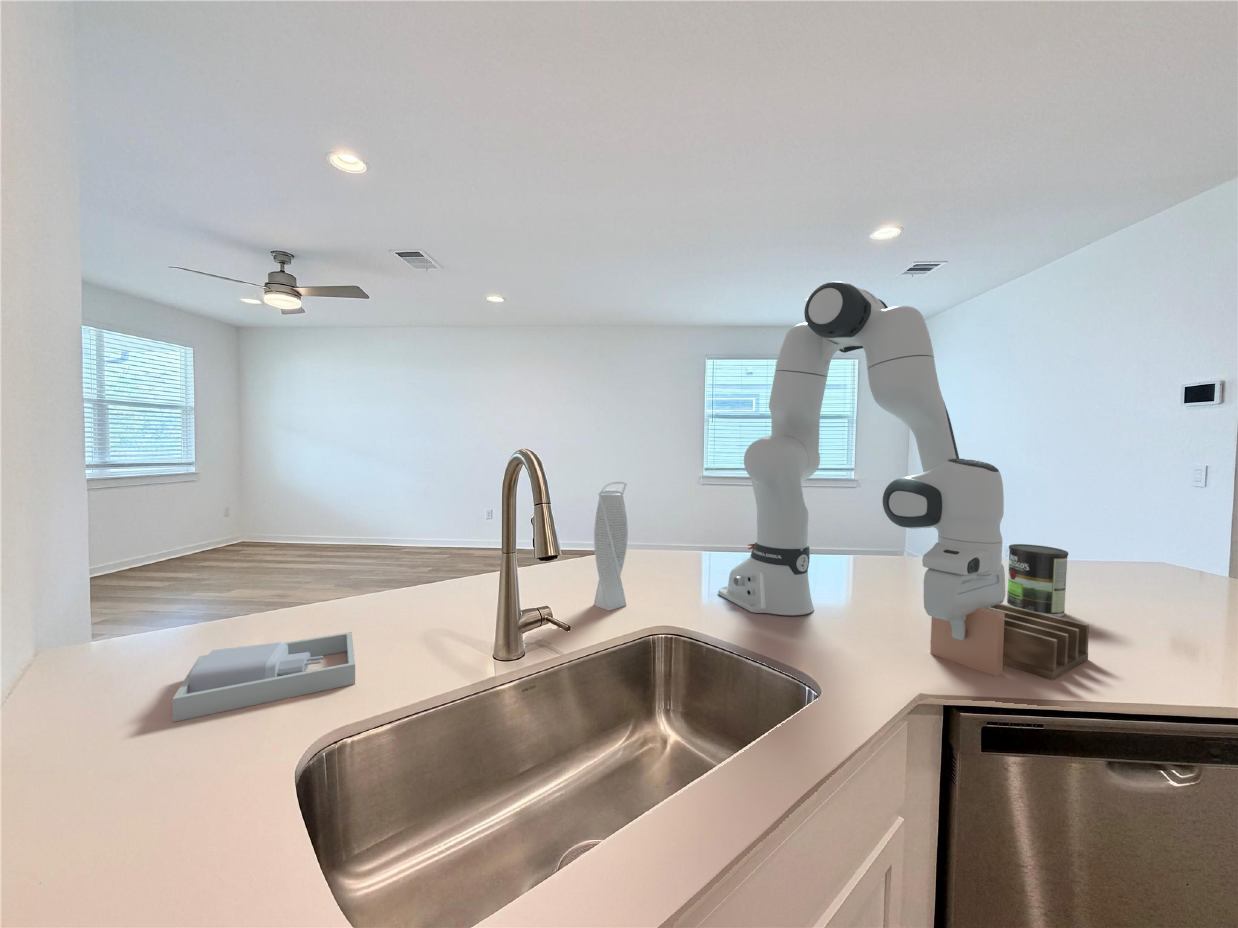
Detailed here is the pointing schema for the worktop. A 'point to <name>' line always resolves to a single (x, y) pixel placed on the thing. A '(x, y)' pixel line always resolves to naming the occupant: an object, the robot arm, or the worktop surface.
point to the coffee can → (1037, 578)
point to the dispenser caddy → (271, 681)
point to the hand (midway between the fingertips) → (965, 636)
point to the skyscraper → (610, 547)
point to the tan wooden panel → (972, 641)
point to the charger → (247, 665)
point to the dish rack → (1042, 642)
